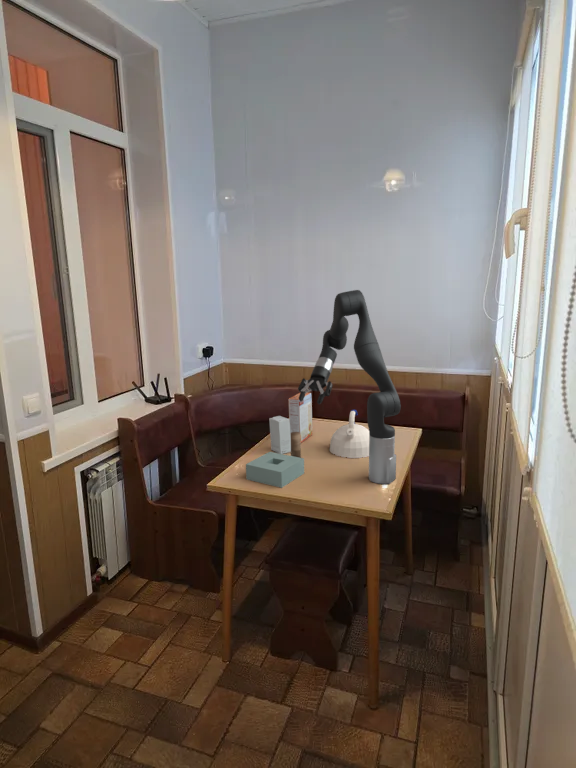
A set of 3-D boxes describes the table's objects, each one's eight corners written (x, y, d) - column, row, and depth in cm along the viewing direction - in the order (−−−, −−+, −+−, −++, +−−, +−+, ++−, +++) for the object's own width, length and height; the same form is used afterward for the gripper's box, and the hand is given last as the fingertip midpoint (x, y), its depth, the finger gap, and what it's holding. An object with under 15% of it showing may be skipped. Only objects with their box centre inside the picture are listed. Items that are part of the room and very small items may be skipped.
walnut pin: (302, 463, 210) (302, 432, 207) (297, 466, 207) (297, 435, 204) (294, 461, 212) (293, 431, 209) (289, 464, 209) (288, 433, 206)
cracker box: (301, 433, 249) (300, 391, 244) (312, 435, 246) (312, 392, 242) (288, 442, 236) (287, 397, 232) (300, 443, 234) (299, 399, 229)
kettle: (325, 457, 217) (325, 415, 213) (333, 441, 236) (333, 403, 232) (374, 460, 212) (375, 418, 208) (377, 444, 231) (378, 405, 228)
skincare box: (291, 452, 223) (291, 419, 220) (279, 455, 220) (279, 421, 217) (281, 446, 230) (280, 414, 227) (269, 449, 227) (268, 417, 224)
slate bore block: (304, 473, 199) (304, 458, 198) (281, 487, 186) (281, 472, 185) (270, 465, 208) (269, 451, 207) (246, 479, 195) (245, 464, 193)
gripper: (304, 363, 222) (291, 395, 215) (334, 366, 214) (321, 399, 207) (310, 373, 227) (297, 404, 220) (340, 376, 220) (327, 408, 213)
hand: (309, 402), depth 214 cm, fingers open, 8 cm apart
